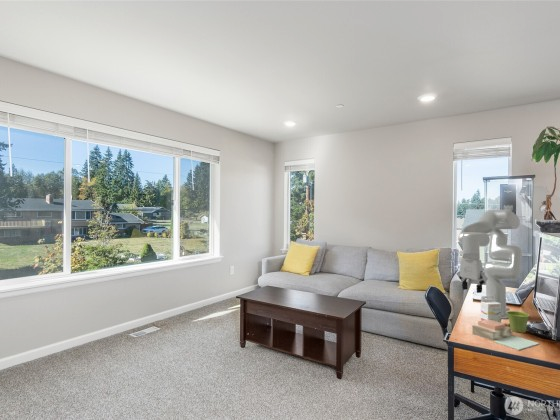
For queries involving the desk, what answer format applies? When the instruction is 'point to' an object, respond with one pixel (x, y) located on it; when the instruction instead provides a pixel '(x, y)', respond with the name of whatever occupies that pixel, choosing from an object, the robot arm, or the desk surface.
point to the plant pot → (518, 321)
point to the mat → (516, 342)
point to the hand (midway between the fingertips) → (472, 290)
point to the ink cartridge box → (490, 309)
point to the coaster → (491, 324)
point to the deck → (491, 332)
